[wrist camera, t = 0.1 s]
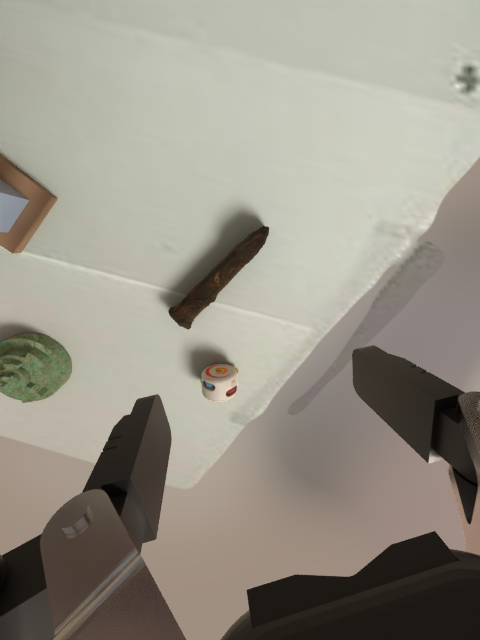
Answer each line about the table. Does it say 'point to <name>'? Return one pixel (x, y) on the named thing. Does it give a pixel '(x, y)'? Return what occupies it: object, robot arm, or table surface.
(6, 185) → the block
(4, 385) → the decorative artifact
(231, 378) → the roller toy
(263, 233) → the hand tool
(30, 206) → the base
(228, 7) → the table surface
